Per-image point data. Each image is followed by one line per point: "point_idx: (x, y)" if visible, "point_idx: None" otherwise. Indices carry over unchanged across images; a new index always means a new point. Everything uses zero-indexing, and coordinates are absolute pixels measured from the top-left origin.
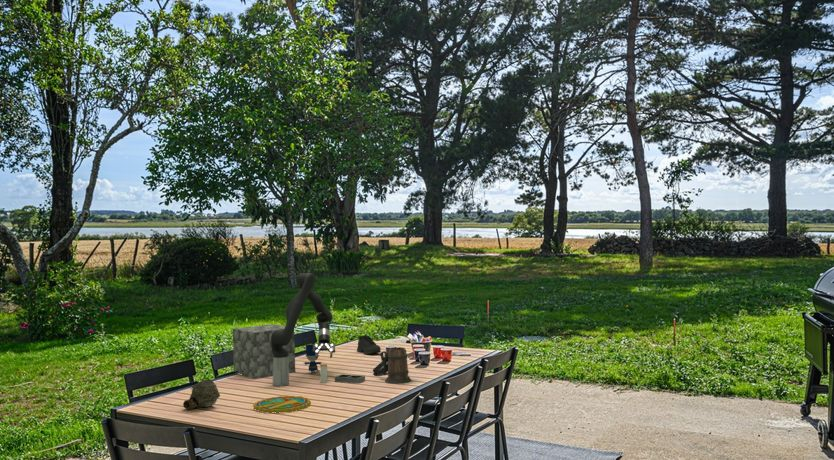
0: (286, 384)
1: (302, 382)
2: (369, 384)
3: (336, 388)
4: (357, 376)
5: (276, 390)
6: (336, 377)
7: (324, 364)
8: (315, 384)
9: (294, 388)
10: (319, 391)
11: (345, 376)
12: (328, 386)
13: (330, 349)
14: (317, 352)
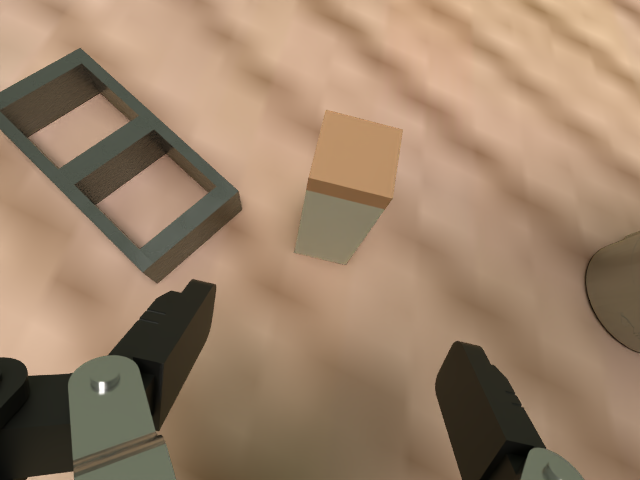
0: (601, 251)
1: (489, 300)
2: (46, 23)
3: (285, 32)
4: (36, 147)
5: (630, 146)
6: (227, 182)
7: (352, 124)
8: (397, 189)
9: (531, 144)
10: (390, 19)
11: (123, 233)
12: (320, 96)
13: (109, 424)
14: (509, 433)
